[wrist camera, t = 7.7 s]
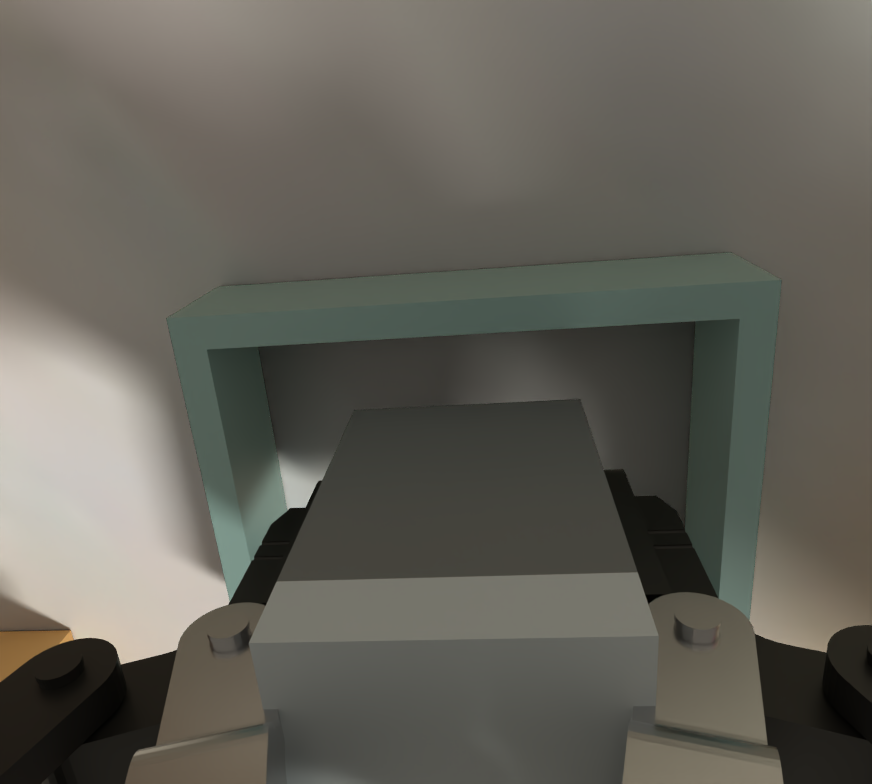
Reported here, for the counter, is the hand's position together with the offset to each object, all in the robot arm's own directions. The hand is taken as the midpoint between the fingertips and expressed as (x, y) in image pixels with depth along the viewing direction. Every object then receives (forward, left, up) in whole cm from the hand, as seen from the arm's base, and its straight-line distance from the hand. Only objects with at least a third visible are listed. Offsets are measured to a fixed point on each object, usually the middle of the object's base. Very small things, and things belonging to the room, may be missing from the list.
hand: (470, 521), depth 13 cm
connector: (0, 0, -1) cm, 1 cm away
